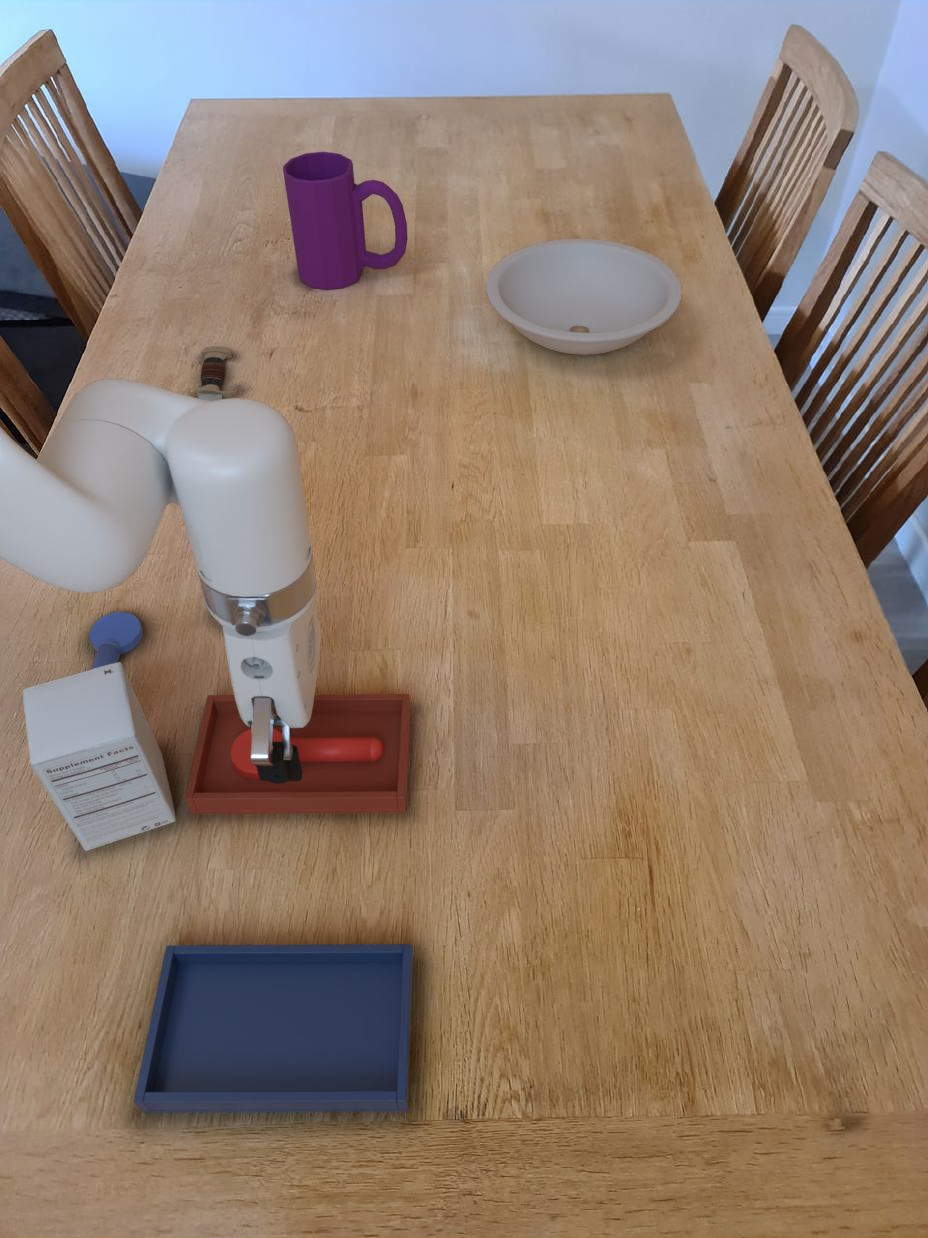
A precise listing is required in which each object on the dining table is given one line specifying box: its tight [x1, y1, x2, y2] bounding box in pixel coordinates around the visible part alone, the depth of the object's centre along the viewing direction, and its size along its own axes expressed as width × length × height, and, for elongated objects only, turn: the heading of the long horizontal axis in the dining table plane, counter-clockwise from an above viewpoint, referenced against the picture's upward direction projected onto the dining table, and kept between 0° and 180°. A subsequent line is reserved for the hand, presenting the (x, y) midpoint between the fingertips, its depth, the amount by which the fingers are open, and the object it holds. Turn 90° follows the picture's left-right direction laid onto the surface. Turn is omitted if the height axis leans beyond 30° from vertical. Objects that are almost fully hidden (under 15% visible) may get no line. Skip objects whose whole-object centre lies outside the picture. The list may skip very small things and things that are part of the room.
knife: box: [196, 345, 239, 401], centre depth 112 cm, size 27×2×5 cm
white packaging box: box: [22, 661, 177, 852], centre depth 74 cm, size 7×7×13 cm
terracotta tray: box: [184, 693, 412, 815], centre depth 80 cm, size 17×10×3 cm, turn 90°
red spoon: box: [230, 728, 384, 780], centre depth 80 cm, size 13×5×2 cm, turn 90°
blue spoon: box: [89, 611, 144, 670], centre depth 87 cm, size 13×5×2 cm, turn 0°
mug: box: [282, 151, 409, 291], centre depth 129 cm, size 9×16×15 cm, turn 87°
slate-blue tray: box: [133, 943, 414, 1114], centre depth 65 cm, size 17×10×3 cm, turn 90°
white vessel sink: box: [485, 238, 683, 356], centre depth 122 cm, size 24×24×7 cm
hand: (289, 726), depth 77 cm, fingers open, 9 cm apart
